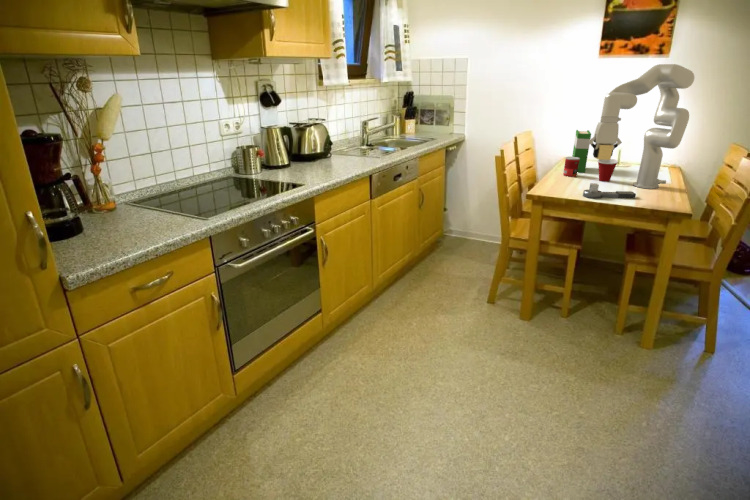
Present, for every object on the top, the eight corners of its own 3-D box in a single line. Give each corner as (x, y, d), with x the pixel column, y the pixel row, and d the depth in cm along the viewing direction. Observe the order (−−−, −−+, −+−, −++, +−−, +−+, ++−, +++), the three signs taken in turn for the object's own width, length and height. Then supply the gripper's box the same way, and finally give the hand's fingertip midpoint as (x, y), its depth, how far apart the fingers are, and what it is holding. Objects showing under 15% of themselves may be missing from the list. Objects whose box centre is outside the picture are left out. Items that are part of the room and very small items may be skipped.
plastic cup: (590, 180, 265) (594, 160, 260) (598, 177, 272) (601, 157, 267) (610, 183, 257) (614, 162, 253) (617, 180, 264) (621, 160, 260)
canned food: (575, 177, 272) (577, 159, 268) (561, 175, 277) (564, 158, 273) (578, 175, 278) (581, 157, 274) (565, 173, 282) (567, 156, 278)
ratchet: (585, 198, 230) (588, 186, 227) (580, 193, 238) (582, 181, 236) (636, 199, 227) (639, 187, 225) (629, 194, 235) (632, 182, 233)
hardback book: (570, 166, 301) (576, 129, 292) (582, 167, 299) (588, 130, 290) (572, 172, 286) (578, 133, 277) (584, 172, 284) (591, 134, 275)
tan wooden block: (605, 157, 229) (608, 143, 227) (610, 159, 224) (613, 145, 221) (593, 157, 230) (596, 143, 227) (597, 159, 224) (600, 145, 222)
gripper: (624, 119, 222) (617, 156, 229) (588, 119, 224) (581, 155, 231) (630, 121, 216) (623, 159, 222) (593, 120, 217) (586, 158, 224)
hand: (602, 156), depth 227 cm, fingers closed on tan wooden block, 6 cm apart
